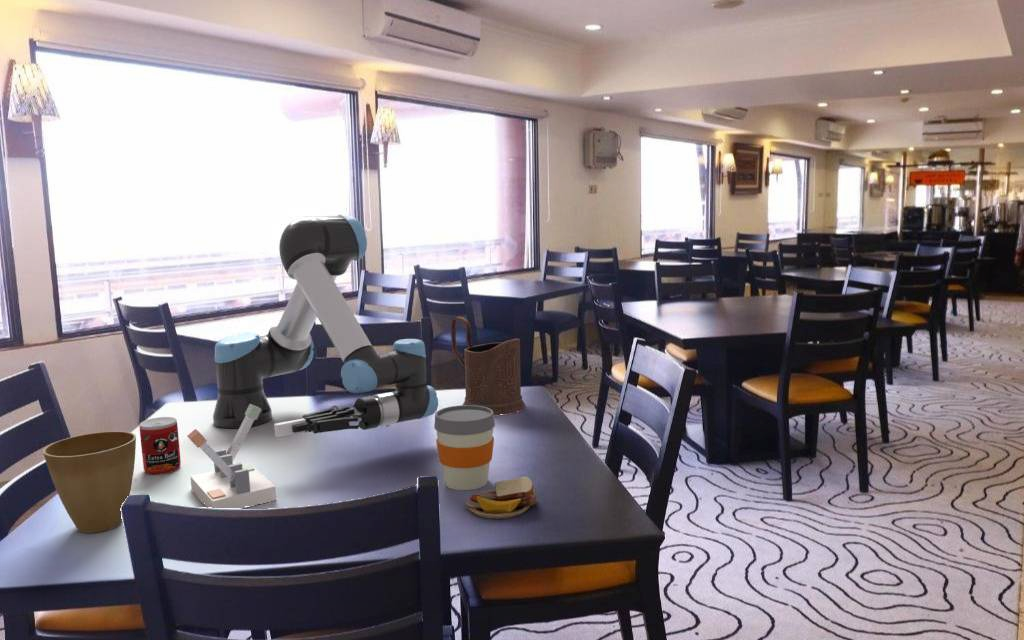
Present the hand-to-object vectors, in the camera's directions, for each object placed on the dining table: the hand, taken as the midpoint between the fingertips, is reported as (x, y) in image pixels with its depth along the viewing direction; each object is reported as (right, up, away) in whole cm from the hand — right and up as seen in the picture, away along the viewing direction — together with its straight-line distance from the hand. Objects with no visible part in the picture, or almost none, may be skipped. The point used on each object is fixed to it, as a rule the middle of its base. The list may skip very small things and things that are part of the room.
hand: (275, 430), depth 163 cm
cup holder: (+44, -1, +54) cm, 70 cm away
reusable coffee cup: (+41, -10, -5) cm, 43 cm away
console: (-6, -12, -9) cm, 16 cm away
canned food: (-28, -10, +7) cm, 30 cm away
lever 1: (-3, -8, -14) cm, 17 cm away
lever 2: (-9, -7, -6) cm, 13 cm away
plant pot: (-26, -14, -22) cm, 37 cm away
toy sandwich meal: (+49, -12, -17) cm, 53 cm away
